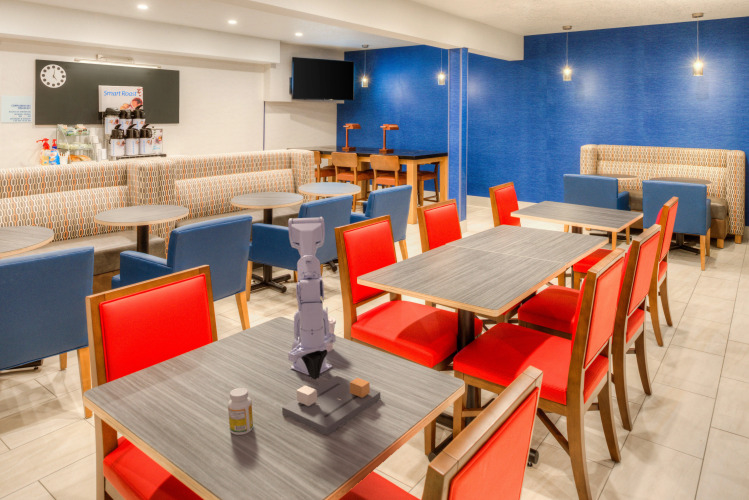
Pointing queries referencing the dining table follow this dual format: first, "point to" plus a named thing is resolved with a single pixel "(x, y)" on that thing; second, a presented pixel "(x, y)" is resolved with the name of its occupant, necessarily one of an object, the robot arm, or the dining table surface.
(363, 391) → the block
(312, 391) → the off white fader
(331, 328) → the smoothie
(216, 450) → the dining table surface
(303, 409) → the fader console
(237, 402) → the supplement bottle
